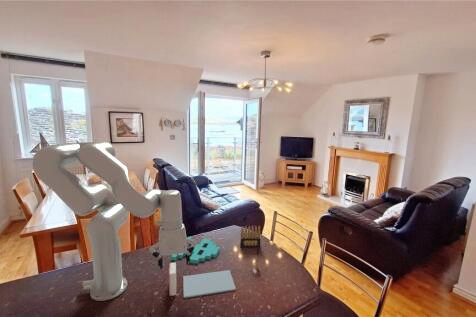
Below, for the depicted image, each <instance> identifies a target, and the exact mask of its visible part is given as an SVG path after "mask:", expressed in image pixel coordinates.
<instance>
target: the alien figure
mask: <svg viewBox="0 0 476 317" xmlns="http://www.w3.org/2000/svg"><path fill="white" fill-rule="evenodd" d="M187 238H188V239H191V240H194V241H195V239H194V238H193V237H192V236H188V237H187ZM196 243H197V244H196V246H195V248H194V250H193V251H192V252H191V253H190V261H189V262H188V264H199V263H200V262H202V263H203V262H205V260H211V259H212V258H214V259H215V258H217V256H218V254H219V253H220V250H221V249H220V247H219V246H218V245H217V244H215V242H214V241H212V239H211V238H210V239H209V238H202V240H201V242H200V243H199V244H198V242H197V241H196ZM191 246H192V244H190V247H191ZM170 256H171V258H170V259H171V261H175V262H176V261H177V260H178V259H184V257H186V253H185V252H184V253H180V254H173V255H170Z"/></svg>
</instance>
